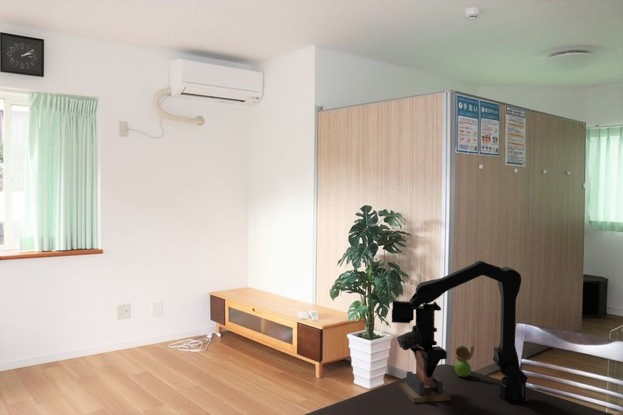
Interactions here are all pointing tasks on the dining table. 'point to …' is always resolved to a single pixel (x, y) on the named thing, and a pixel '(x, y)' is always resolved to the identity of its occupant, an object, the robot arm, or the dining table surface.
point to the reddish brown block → (422, 369)
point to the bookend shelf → (423, 389)
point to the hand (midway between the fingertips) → (424, 373)
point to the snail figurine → (463, 360)
